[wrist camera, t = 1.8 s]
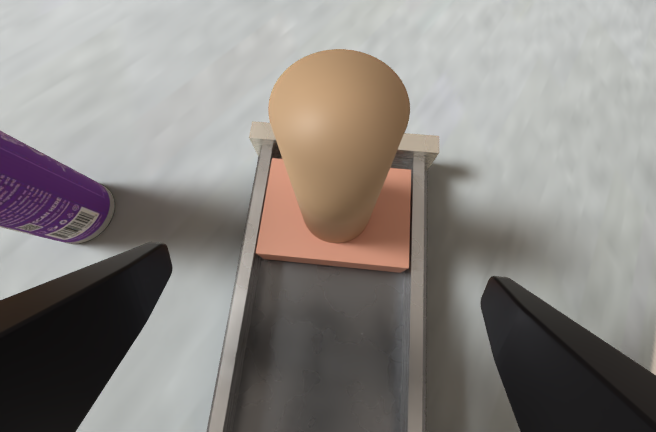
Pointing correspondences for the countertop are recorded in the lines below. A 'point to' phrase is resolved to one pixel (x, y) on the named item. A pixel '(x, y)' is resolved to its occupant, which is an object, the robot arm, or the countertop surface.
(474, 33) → the countertop surface
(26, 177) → the container
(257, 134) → the slide base
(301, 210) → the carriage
